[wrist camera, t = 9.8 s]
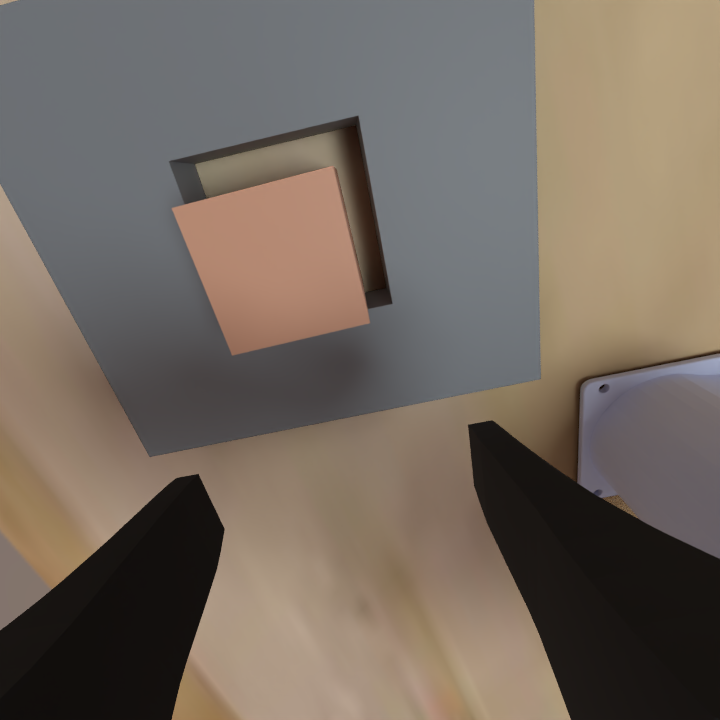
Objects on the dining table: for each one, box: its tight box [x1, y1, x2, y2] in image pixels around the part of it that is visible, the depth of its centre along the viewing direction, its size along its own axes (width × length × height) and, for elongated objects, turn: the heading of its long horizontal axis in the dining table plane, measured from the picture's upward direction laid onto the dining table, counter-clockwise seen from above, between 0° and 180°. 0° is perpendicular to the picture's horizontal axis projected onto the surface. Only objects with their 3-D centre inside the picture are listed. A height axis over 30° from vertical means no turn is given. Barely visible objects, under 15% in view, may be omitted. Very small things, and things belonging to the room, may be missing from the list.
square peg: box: [172, 166, 370, 355], centre depth 14 cm, size 4×4×6 cm
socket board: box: [0, 0, 541, 457], centre depth 15 cm, size 18×16×2 cm
